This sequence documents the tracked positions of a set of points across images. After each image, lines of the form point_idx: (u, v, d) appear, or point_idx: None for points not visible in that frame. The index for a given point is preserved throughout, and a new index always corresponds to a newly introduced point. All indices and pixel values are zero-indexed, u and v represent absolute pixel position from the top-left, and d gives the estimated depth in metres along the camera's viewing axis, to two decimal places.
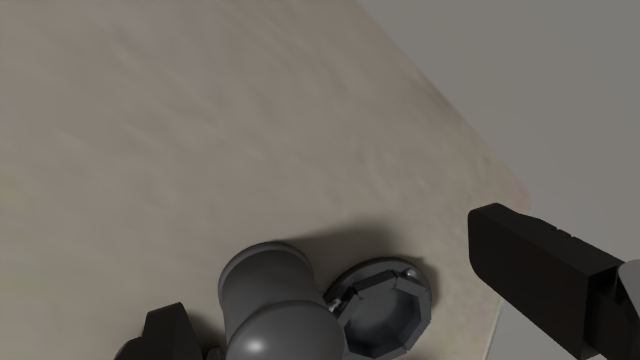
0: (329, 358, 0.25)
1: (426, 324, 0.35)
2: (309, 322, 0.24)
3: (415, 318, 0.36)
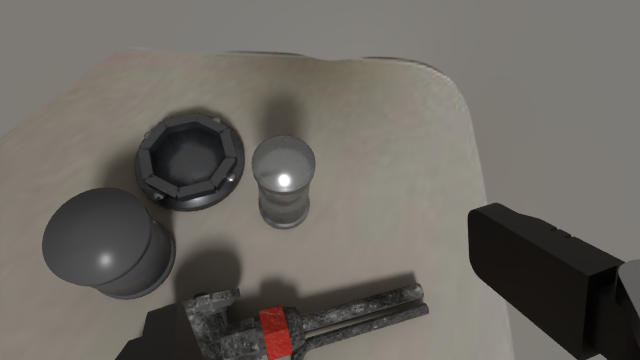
0: (112, 198, 0.30)
1: (200, 116, 0.41)
2: (63, 218, 0.29)
3: (199, 125, 0.41)
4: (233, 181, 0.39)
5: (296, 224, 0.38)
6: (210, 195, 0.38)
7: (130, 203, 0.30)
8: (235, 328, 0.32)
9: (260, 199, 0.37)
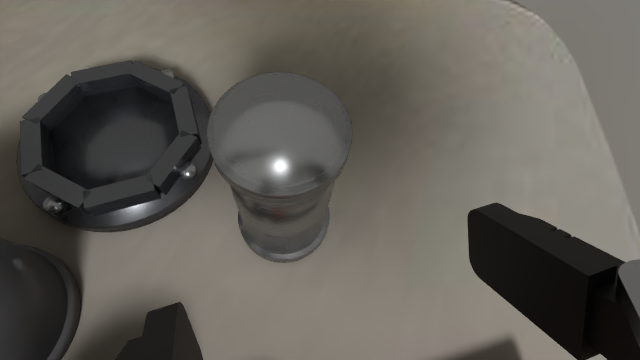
0: None
1: (138, 65, 0.24)
2: None
3: (137, 83, 0.24)
4: (193, 177, 0.22)
5: (306, 253, 0.21)
6: (150, 202, 0.21)
7: None
8: None
9: None
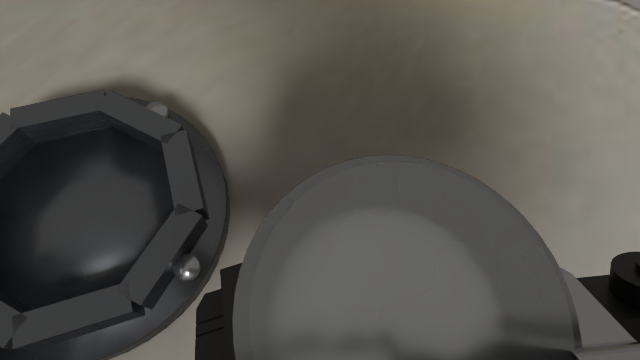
0: None
1: (114, 98, 0.16)
2: None
3: (113, 123, 0.16)
4: (195, 278, 0.14)
5: None
6: (128, 323, 0.13)
7: None
8: None
9: None
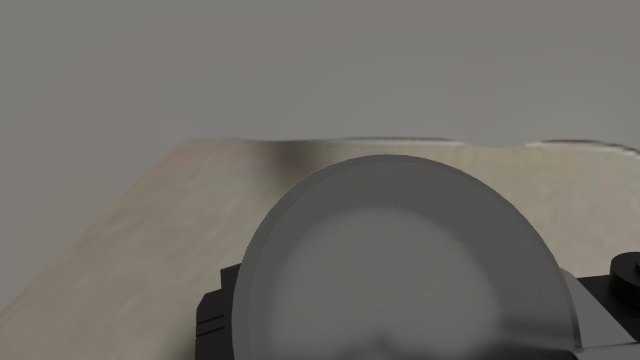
0: None
1: None
2: None
3: None
4: None
5: None
6: None
7: None
8: None
9: None
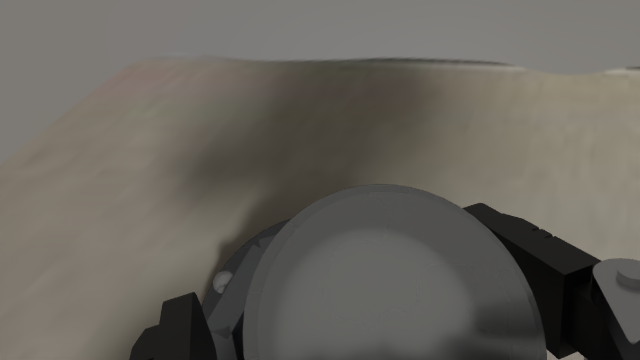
0: None
1: None
2: None
3: None
4: None
5: None
6: None
7: None
8: None
9: None
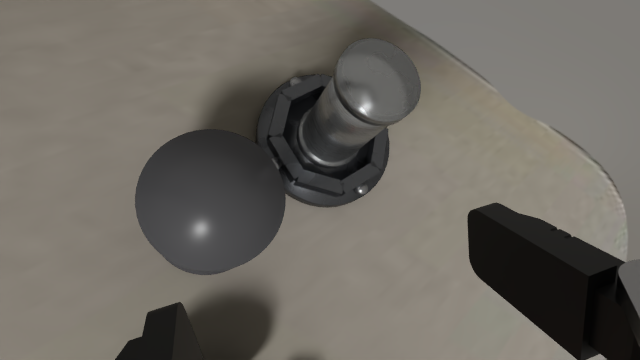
0: (257, 165, 0.21)
1: None
2: (189, 148, 0.20)
3: None
4: (362, 194, 0.30)
5: (330, 166, 0.29)
6: (329, 196, 0.30)
7: (273, 187, 0.21)
8: None
9: (310, 112, 0.27)
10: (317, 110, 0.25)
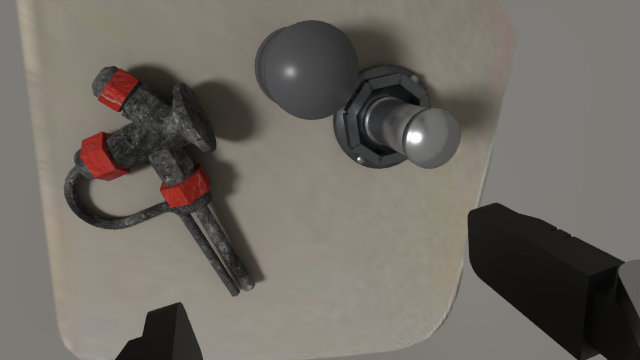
0: (343, 88, 0.31)
1: None
2: (335, 42, 0.30)
3: None
4: (356, 161, 0.41)
5: (366, 131, 0.40)
6: (345, 140, 0.41)
7: (334, 104, 0.32)
8: (179, 156, 0.34)
9: (396, 101, 0.38)
10: (398, 107, 0.36)
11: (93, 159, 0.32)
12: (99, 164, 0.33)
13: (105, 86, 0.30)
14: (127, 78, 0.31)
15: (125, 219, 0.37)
